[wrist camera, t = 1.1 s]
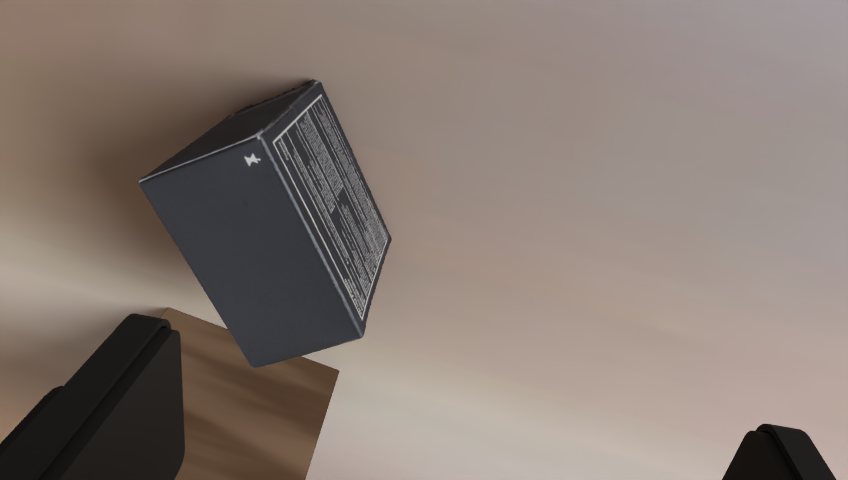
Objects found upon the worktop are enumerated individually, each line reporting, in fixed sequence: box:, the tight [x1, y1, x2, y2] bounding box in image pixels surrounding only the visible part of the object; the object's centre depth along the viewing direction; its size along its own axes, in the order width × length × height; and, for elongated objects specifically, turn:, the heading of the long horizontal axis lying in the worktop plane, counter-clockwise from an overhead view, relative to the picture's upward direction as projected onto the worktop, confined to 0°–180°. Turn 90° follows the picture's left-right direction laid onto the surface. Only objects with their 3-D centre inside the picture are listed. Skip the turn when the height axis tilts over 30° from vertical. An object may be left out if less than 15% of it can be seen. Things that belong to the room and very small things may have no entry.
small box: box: [139, 80, 391, 368], centre depth 32 cm, size 11×6×10 cm, turn 22°
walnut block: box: [160, 308, 339, 480], centre depth 35 cm, size 3×12×16 cm, turn 68°
